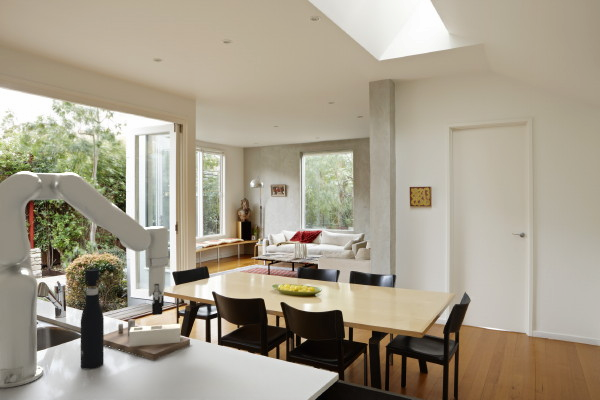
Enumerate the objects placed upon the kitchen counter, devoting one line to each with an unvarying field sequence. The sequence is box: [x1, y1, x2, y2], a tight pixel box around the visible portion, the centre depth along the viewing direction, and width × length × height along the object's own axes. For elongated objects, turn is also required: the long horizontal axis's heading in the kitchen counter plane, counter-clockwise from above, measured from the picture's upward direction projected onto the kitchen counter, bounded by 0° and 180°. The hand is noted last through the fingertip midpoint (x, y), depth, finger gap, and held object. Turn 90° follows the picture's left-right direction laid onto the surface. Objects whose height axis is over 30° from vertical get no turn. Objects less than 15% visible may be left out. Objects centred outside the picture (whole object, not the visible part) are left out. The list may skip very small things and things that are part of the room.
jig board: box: [104, 318, 191, 361], centre depth 148 cm, size 30×16×8 cm, turn 61°
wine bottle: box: [80, 268, 105, 370], centre depth 129 cm, size 6×6×30 cm
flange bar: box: [129, 323, 181, 347], centre depth 145 cm, size 17×5×5 cm, turn 106°
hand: (158, 310), depth 145 cm, fingers open, 9 cm apart
